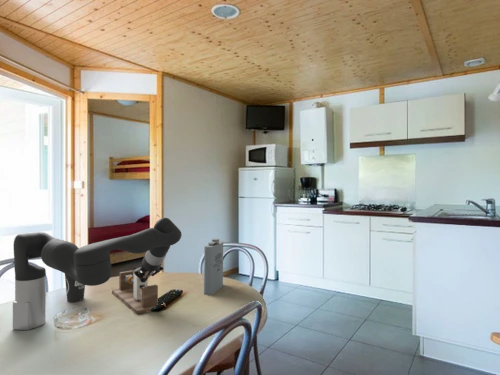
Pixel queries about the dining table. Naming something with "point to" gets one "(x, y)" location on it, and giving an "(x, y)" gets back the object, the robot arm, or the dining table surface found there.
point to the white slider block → (138, 287)
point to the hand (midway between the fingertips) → (142, 280)
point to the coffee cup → (74, 289)
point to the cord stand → (126, 294)
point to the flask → (213, 266)
